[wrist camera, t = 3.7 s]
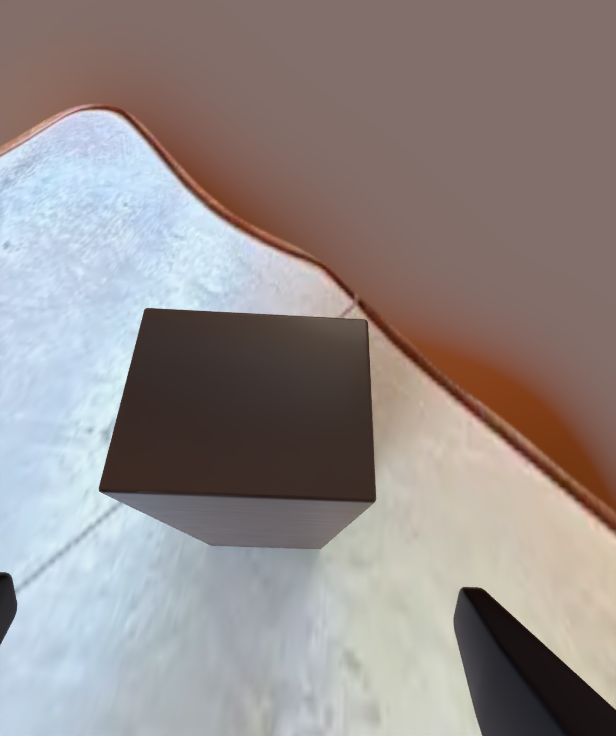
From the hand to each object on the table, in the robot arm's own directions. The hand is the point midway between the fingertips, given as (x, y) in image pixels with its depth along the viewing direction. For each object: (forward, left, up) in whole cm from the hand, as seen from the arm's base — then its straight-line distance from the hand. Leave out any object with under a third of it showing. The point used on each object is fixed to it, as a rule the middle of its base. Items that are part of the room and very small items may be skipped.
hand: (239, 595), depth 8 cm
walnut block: (+2, +3, -11) cm, 11 cm away
